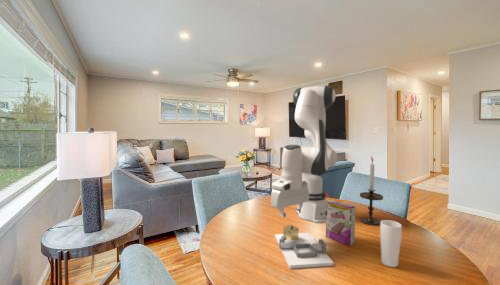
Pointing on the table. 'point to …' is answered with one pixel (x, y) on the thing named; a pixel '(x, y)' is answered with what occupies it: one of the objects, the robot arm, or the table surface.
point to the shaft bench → (303, 251)
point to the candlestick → (371, 199)
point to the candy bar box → (340, 222)
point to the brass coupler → (291, 232)
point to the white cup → (390, 242)
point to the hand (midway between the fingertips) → (290, 214)
